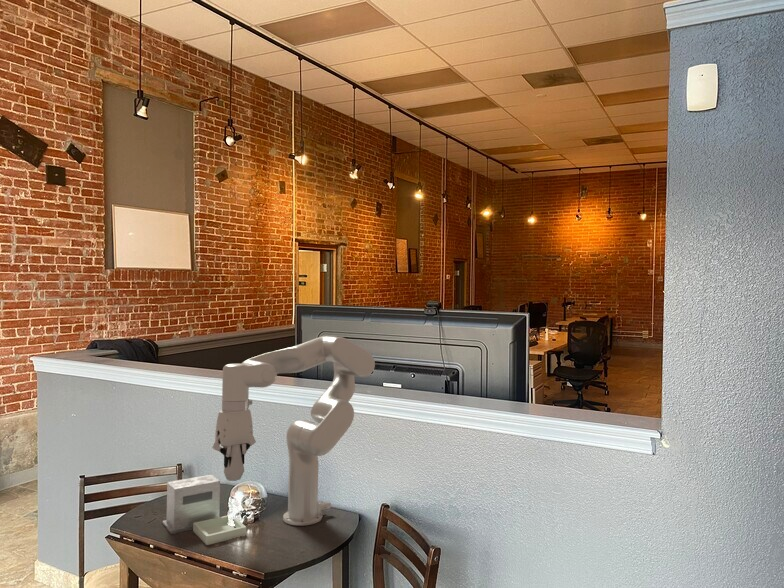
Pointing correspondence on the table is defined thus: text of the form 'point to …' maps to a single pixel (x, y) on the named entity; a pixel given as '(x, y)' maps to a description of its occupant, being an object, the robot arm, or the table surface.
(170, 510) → the unit
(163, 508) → the table surface
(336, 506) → the table surface
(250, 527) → the table surface
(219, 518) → the tray
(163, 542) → the table surface
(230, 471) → the salt shaker
